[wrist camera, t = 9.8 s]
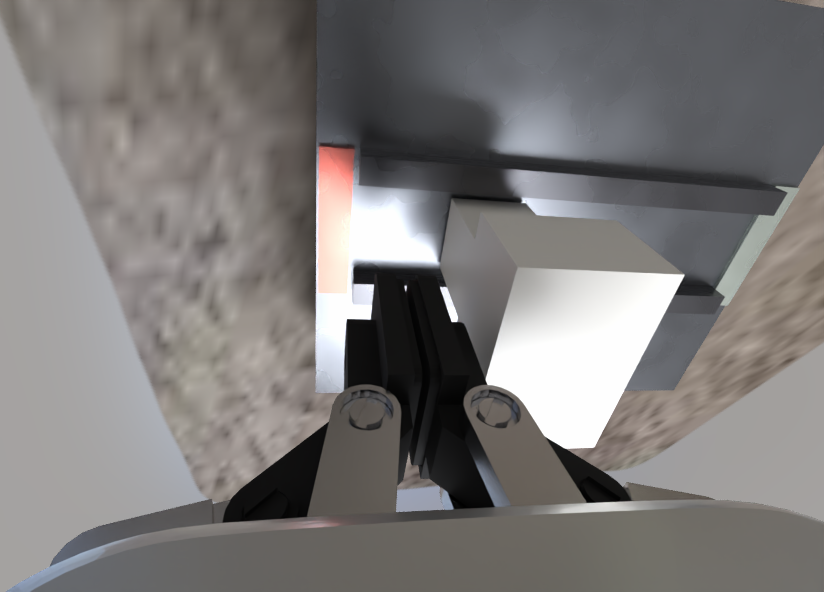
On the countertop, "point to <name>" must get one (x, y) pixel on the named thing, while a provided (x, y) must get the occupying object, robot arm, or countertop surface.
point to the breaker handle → (555, 308)
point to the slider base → (561, 139)
